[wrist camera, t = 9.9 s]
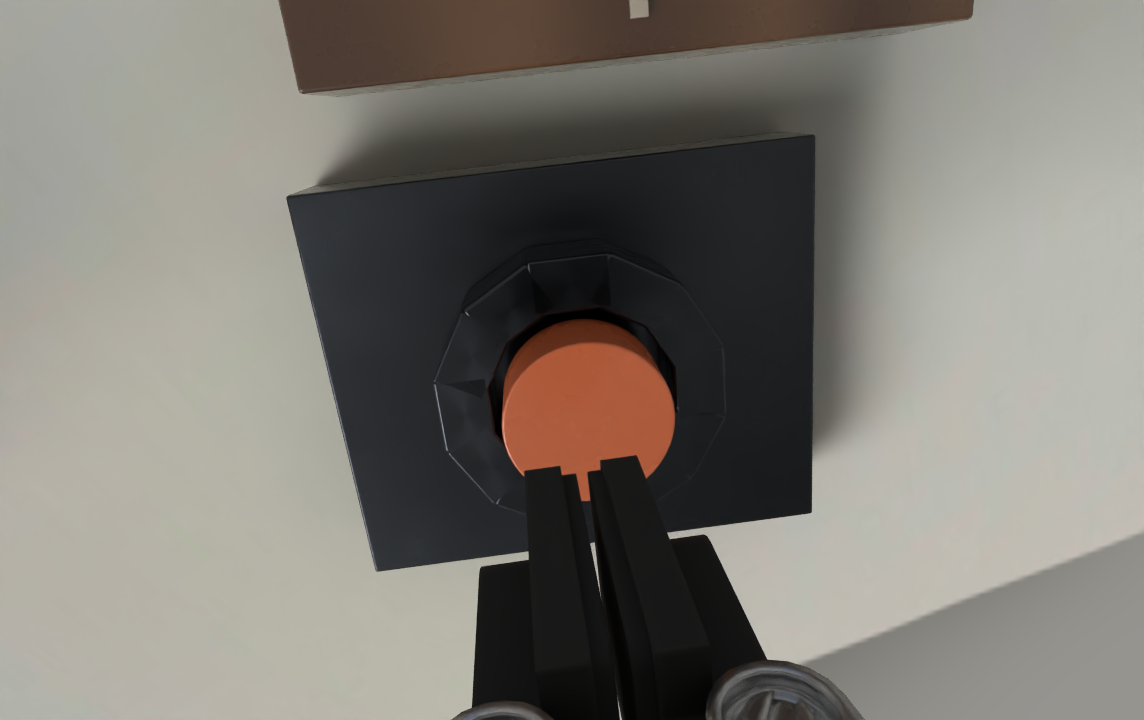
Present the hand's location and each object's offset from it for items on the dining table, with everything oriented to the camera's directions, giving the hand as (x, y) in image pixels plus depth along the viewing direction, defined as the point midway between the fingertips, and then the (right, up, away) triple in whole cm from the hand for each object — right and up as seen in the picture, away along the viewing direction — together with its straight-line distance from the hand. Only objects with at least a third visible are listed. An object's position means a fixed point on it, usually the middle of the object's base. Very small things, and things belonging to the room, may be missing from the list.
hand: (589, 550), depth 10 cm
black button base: (0, +3, +9) cm, 10 cm away
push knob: (0, +2, +6) cm, 6 cm away
